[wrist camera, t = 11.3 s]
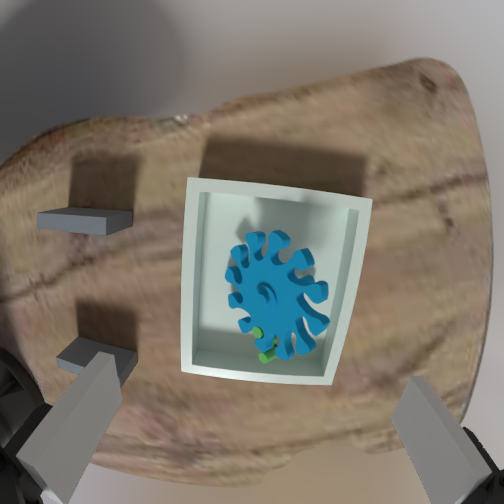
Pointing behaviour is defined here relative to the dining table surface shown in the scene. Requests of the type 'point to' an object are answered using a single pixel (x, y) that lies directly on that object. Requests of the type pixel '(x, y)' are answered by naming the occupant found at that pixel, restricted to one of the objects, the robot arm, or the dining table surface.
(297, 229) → the parts tray
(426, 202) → the dining table surface
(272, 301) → the gear
